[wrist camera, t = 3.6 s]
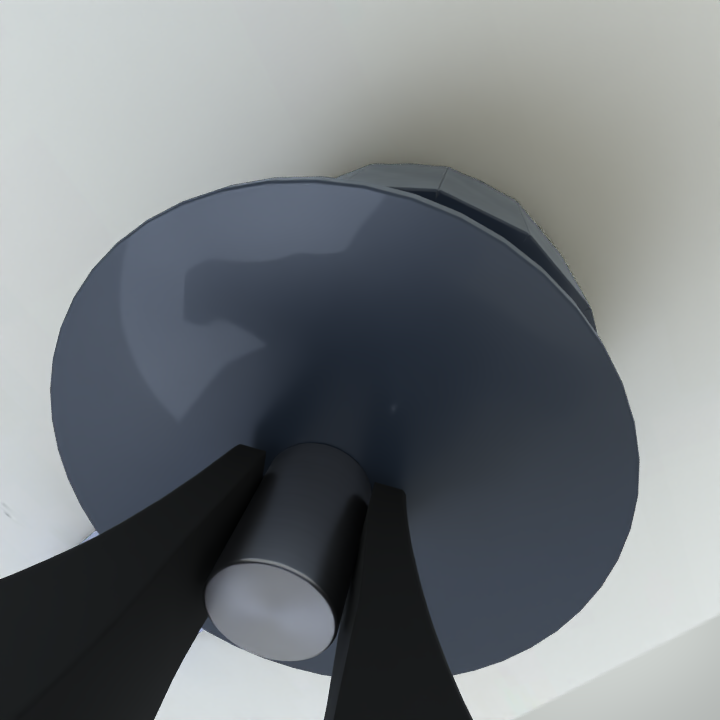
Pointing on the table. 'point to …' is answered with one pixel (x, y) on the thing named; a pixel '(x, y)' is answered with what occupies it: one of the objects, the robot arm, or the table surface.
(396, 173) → the pan
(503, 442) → the pan lid
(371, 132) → the table surface
